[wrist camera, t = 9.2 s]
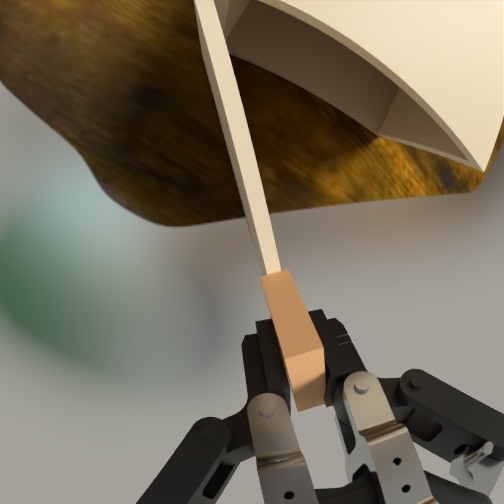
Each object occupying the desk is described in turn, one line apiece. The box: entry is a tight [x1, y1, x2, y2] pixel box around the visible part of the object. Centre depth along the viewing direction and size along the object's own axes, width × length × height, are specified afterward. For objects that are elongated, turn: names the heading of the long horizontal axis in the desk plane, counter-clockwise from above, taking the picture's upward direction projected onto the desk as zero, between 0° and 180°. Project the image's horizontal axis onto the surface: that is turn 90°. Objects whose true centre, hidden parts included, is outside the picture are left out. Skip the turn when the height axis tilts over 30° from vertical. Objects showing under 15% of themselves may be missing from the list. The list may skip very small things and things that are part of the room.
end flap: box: [194, 0, 326, 412], centre depth 13 cm, size 1×16×16 cm, turn 13°
